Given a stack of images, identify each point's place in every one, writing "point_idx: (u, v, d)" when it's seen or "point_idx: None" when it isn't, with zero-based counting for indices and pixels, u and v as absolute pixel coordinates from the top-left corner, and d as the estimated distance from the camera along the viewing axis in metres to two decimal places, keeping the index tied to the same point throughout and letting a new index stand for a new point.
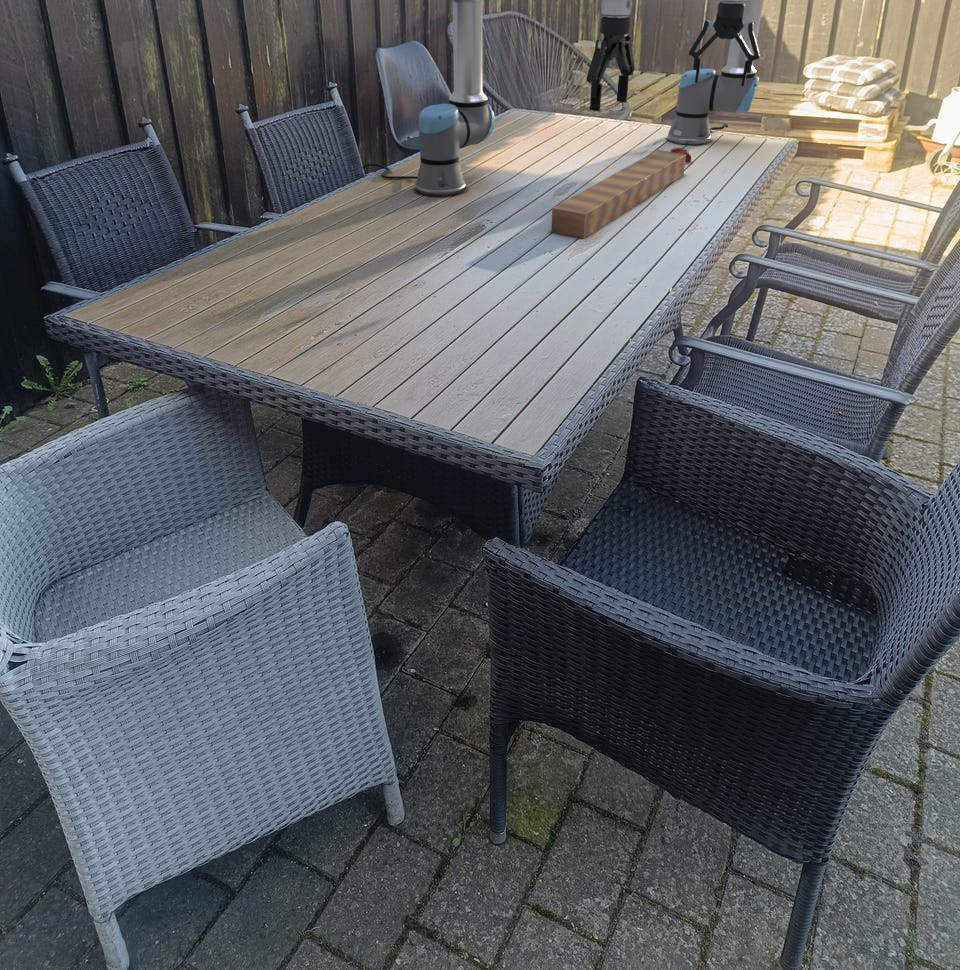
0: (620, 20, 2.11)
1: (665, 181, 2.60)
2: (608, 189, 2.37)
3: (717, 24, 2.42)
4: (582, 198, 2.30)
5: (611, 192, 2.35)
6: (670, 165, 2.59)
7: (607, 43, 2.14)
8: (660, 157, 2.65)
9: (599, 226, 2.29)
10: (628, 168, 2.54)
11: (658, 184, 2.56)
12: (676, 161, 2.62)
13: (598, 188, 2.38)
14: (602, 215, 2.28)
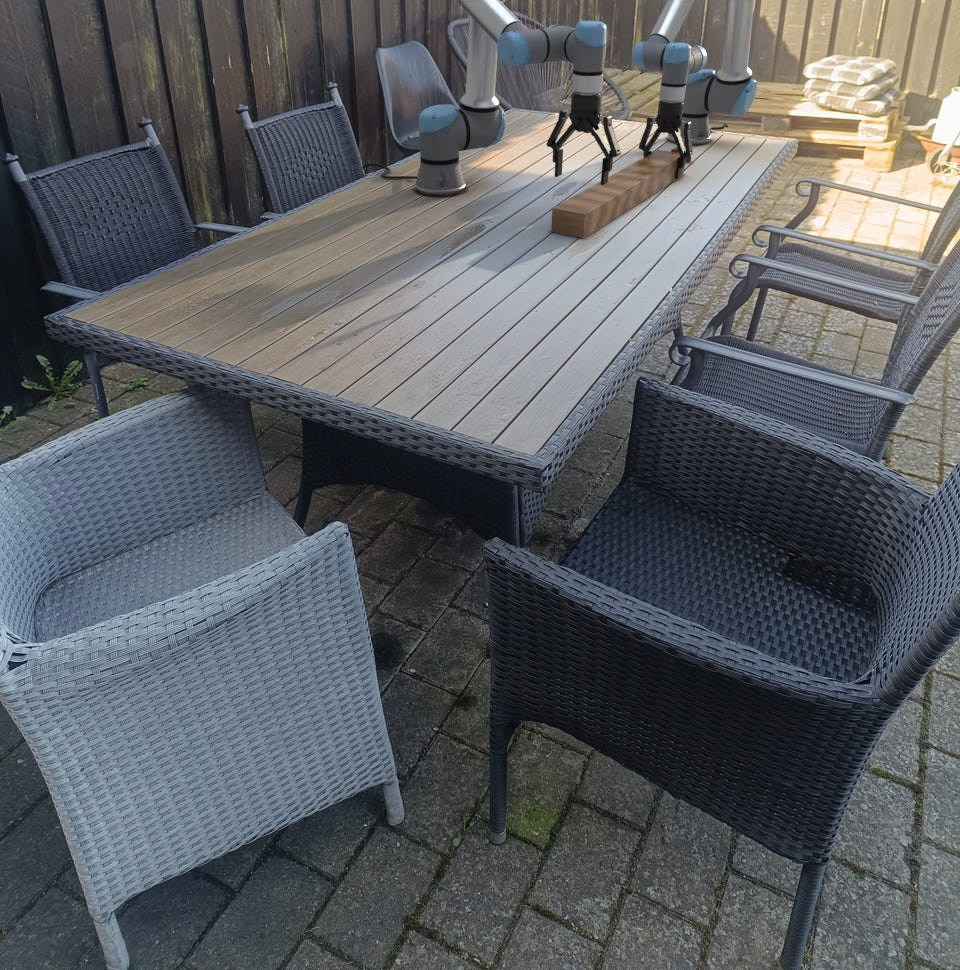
0: None
1: (665, 181, 2.60)
2: (608, 189, 2.37)
3: None
4: (582, 198, 2.30)
5: (611, 192, 2.35)
6: (670, 165, 2.59)
7: None
8: (660, 157, 2.64)
9: (599, 226, 2.29)
10: (628, 168, 2.54)
11: (658, 184, 2.56)
12: (676, 161, 2.62)
13: (598, 188, 2.38)
14: (602, 215, 2.28)
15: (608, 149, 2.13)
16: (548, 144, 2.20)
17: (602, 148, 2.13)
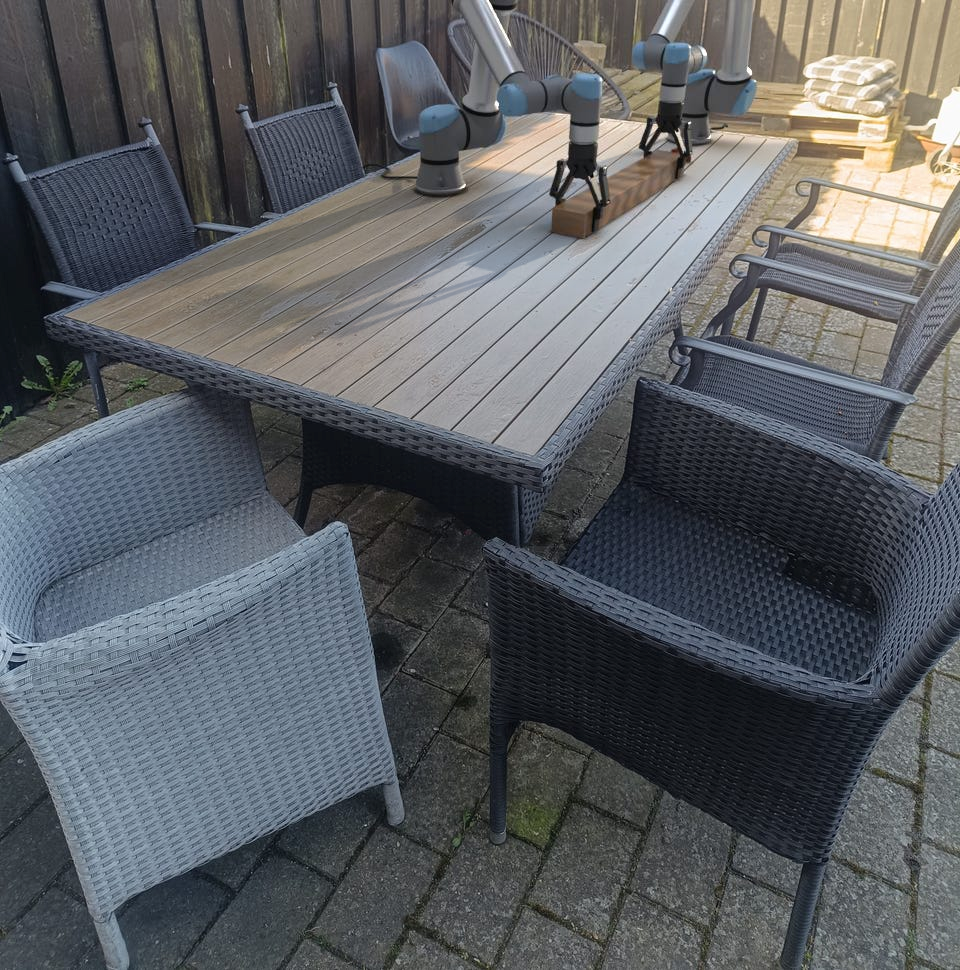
0: None
1: (665, 181, 2.60)
2: None
3: None
4: (582, 198, 2.30)
5: (612, 192, 2.35)
6: (670, 165, 2.59)
7: None
8: (660, 157, 2.64)
9: (599, 226, 2.29)
10: (628, 168, 2.54)
11: (658, 184, 2.56)
12: (676, 161, 2.62)
13: None
14: None
15: (599, 198, 2.21)
16: (551, 194, 2.27)
17: (594, 197, 2.21)
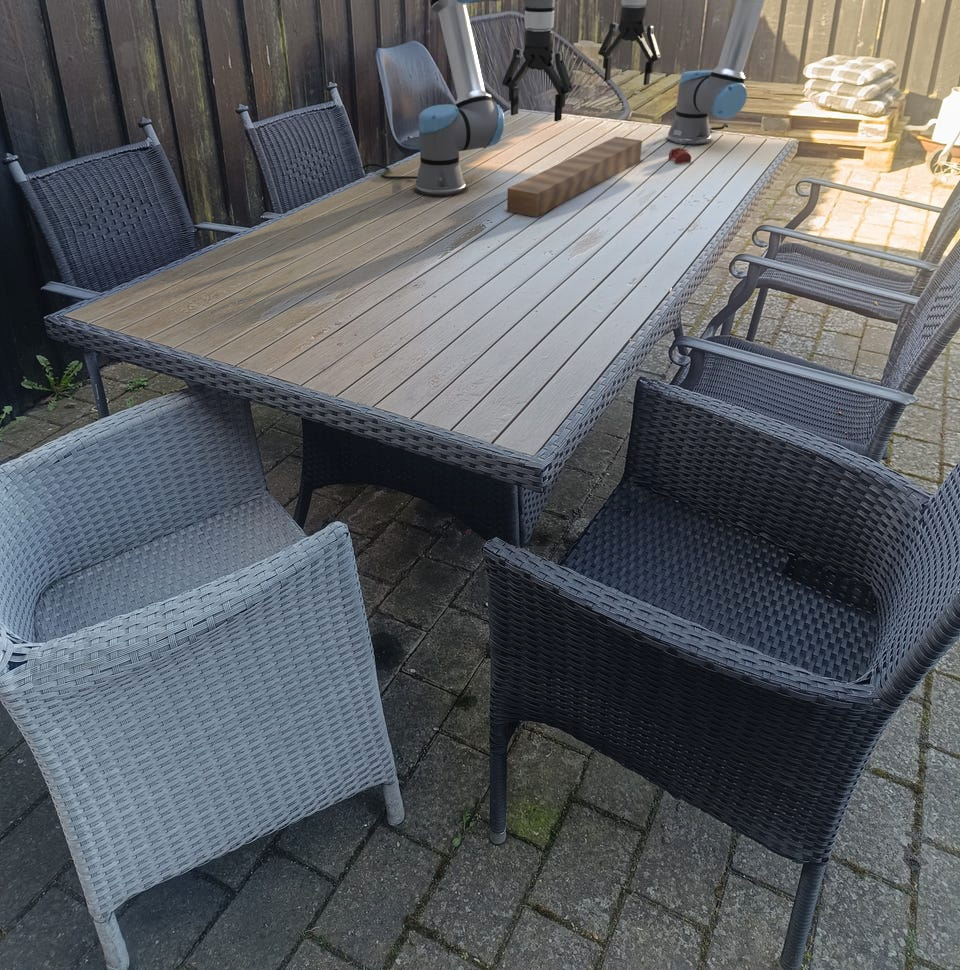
0: None
1: (620, 165, 2.74)
2: (563, 171, 2.51)
3: None
4: (537, 179, 2.45)
5: (565, 174, 2.49)
6: (625, 150, 2.73)
7: None
8: (617, 143, 2.79)
9: (552, 206, 2.43)
10: (585, 153, 2.68)
11: (613, 168, 2.70)
12: (631, 147, 2.76)
13: (553, 171, 2.52)
14: (555, 195, 2.43)
15: (560, 85, 2.21)
16: (504, 83, 2.28)
17: (554, 84, 2.20)
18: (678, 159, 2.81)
